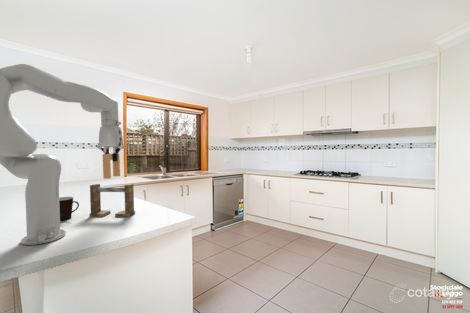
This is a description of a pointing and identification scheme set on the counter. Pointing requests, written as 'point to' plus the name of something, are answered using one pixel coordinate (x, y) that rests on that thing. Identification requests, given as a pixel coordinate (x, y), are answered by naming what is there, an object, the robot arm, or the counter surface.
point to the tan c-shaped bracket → (108, 166)
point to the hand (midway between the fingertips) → (111, 160)
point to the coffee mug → (66, 207)
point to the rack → (97, 189)
